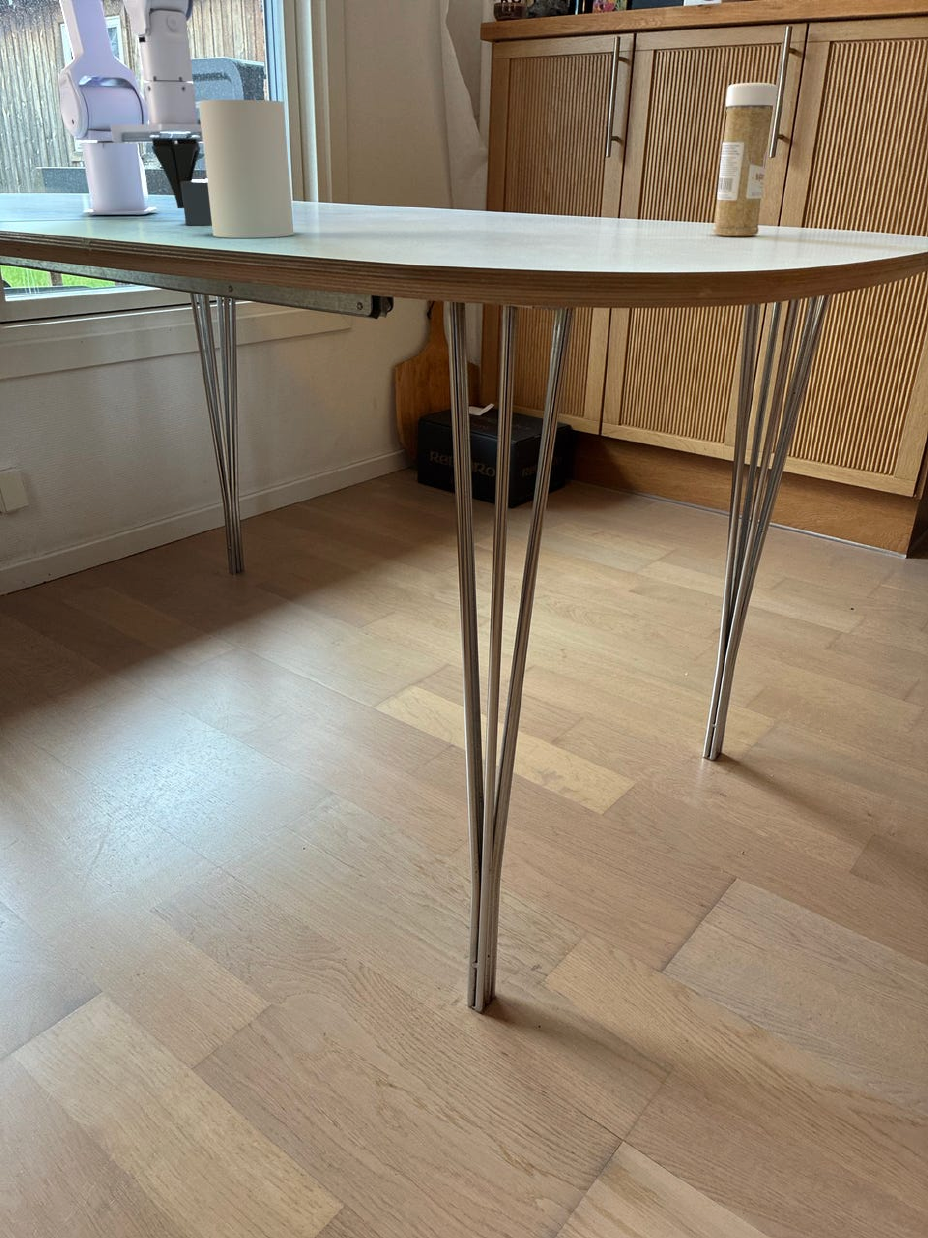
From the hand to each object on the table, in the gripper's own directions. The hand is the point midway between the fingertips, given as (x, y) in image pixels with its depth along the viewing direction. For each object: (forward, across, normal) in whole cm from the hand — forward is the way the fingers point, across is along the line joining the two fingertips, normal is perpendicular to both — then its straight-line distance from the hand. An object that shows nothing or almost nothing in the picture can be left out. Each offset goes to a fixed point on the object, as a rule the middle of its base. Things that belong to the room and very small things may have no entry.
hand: (183, 207), depth 117 cm
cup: (+2, +11, -25) cm, 27 cm away
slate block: (+1, +4, -8) cm, 9 cm away
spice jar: (+2, +60, -31) cm, 67 cm away
